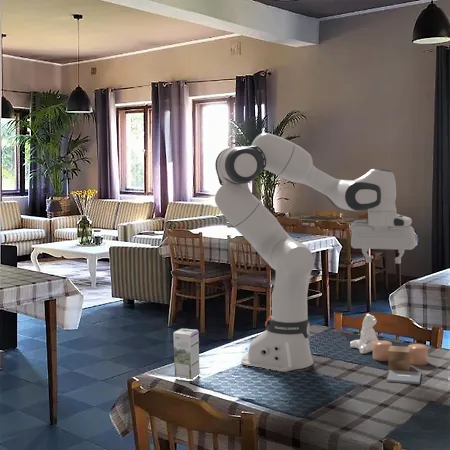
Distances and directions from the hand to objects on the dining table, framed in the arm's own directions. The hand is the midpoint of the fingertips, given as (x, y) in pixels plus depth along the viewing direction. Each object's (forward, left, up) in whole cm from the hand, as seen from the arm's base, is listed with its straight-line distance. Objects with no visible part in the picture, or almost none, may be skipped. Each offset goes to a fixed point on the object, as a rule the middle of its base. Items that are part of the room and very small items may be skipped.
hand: (383, 262), depth 217 cm
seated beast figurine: (-6, +5, -30) cm, 31 cm away
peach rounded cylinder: (+11, -6, -30) cm, 33 cm away
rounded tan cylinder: (0, -4, -30) cm, 30 cm away
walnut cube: (+6, -13, -30) cm, 33 cm away
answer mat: (+8, -22, -30) cm, 38 cm away
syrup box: (-53, -38, -30) cm, 72 cm away
